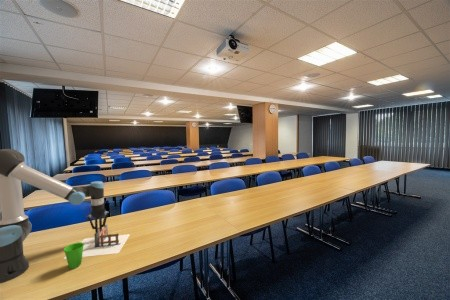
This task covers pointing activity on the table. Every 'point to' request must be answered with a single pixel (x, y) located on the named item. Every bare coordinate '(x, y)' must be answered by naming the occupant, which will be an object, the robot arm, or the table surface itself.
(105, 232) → the fence swing
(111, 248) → the card
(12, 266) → the robot arm
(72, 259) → the cup
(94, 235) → the fence fixed
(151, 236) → the table surface
